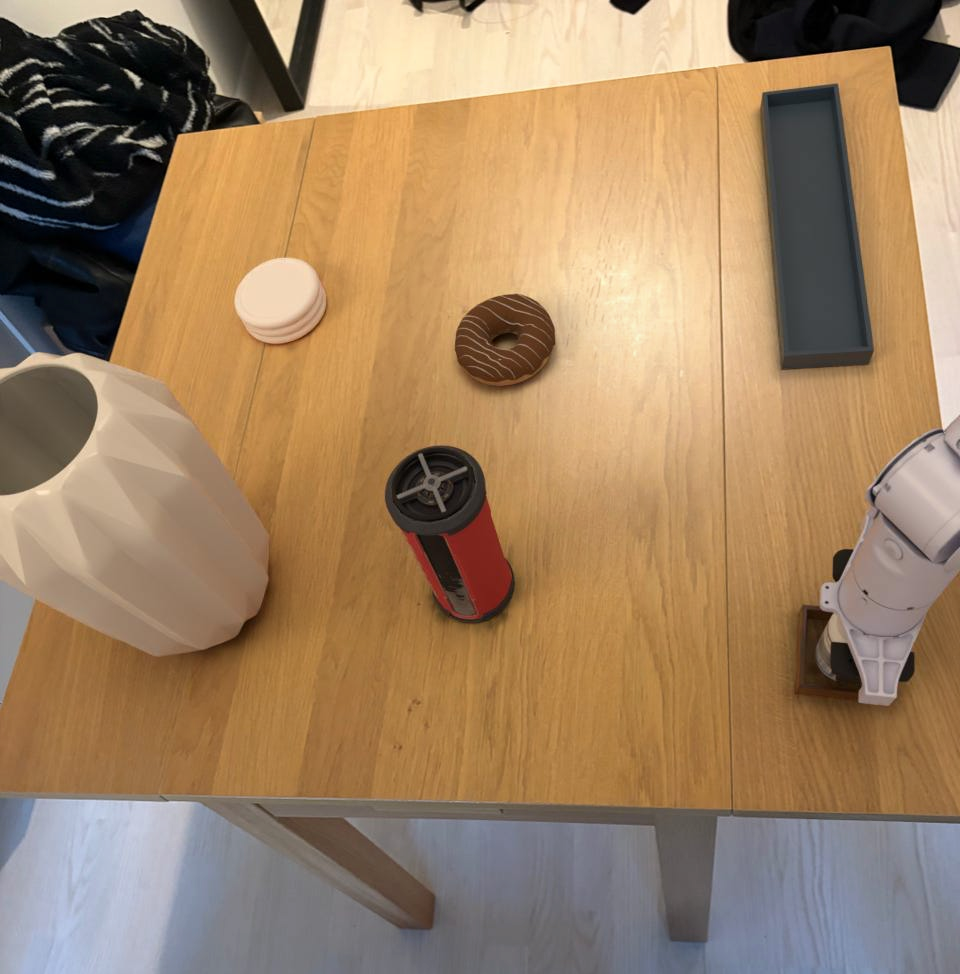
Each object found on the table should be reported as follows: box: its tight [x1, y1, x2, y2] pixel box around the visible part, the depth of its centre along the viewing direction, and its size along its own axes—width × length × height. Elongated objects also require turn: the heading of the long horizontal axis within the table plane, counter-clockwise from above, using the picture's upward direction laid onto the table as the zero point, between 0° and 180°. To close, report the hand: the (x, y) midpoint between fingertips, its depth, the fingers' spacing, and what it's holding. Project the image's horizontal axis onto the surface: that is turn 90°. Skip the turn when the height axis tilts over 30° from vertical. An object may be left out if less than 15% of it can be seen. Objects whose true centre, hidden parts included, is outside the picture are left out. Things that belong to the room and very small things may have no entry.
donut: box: [454, 293, 557, 387], centre depth 85 cm, size 11×11×4 cm
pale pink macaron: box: [233, 257, 327, 345], centre depth 93 cm, size 10×10×4 cm
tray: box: [759, 82, 875, 370], centre depth 85 cm, size 37×8×2 cm, turn 176°
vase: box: [0, 351, 270, 658], centre depth 69 cm, size 20×20×27 cm
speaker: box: [384, 444, 516, 623], centre depth 69 cm, size 8×8×18 cm
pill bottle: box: [814, 613, 847, 682], centre depth 65 cm, size 5×5×8 cm
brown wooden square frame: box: [794, 604, 899, 705], centre depth 68 cm, size 7×7×2 cm
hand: (850, 646), depth 66 cm, fingers open, 5 cm apart
